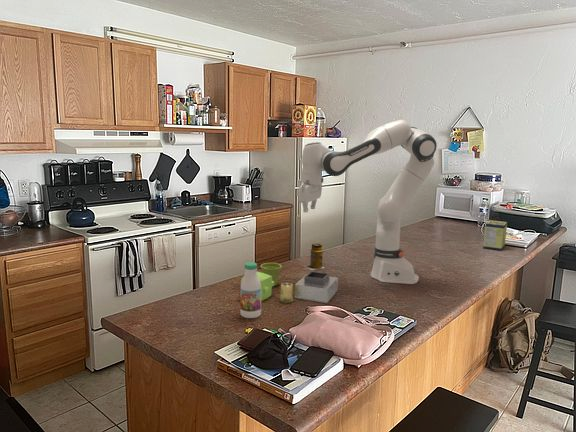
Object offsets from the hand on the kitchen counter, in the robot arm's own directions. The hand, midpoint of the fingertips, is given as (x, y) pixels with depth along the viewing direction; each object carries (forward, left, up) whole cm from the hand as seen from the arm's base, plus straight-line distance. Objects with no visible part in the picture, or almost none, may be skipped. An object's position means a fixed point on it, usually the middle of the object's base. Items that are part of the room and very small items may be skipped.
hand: (309, 210), depth 202 cm
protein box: (-84, -111, -34) cm, 143 cm away
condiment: (+4, -24, -34) cm, 42 cm away
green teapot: (+12, +28, -34) cm, 46 cm away
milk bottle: (+7, +44, -34) cm, 56 cm away
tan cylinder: (0, +25, -34) cm, 42 cm away
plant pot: (+14, +9, -34) cm, 38 cm away
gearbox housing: (-9, +13, -34) cm, 37 cm away
